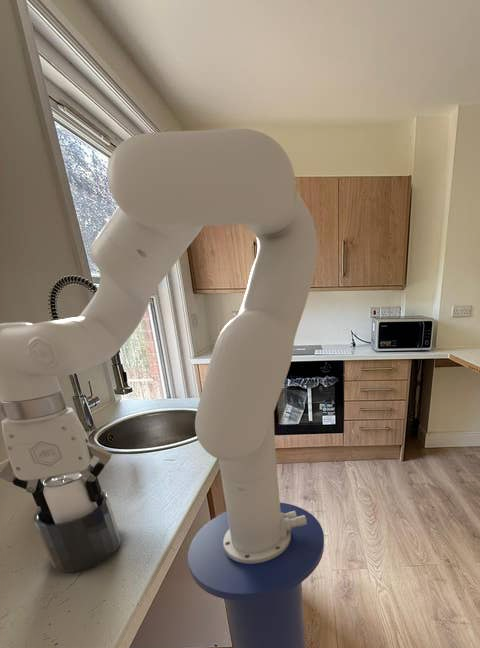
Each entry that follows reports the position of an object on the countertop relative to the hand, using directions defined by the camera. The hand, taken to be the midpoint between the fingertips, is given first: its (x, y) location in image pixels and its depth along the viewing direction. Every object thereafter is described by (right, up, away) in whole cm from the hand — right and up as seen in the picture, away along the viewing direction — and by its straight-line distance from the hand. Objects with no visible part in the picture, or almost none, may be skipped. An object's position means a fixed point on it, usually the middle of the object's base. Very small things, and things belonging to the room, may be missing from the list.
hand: (72, 502), depth 61 cm
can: (0, -7, +3) cm, 7 cm away
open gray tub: (0, -10, +4) cm, 11 cm away
